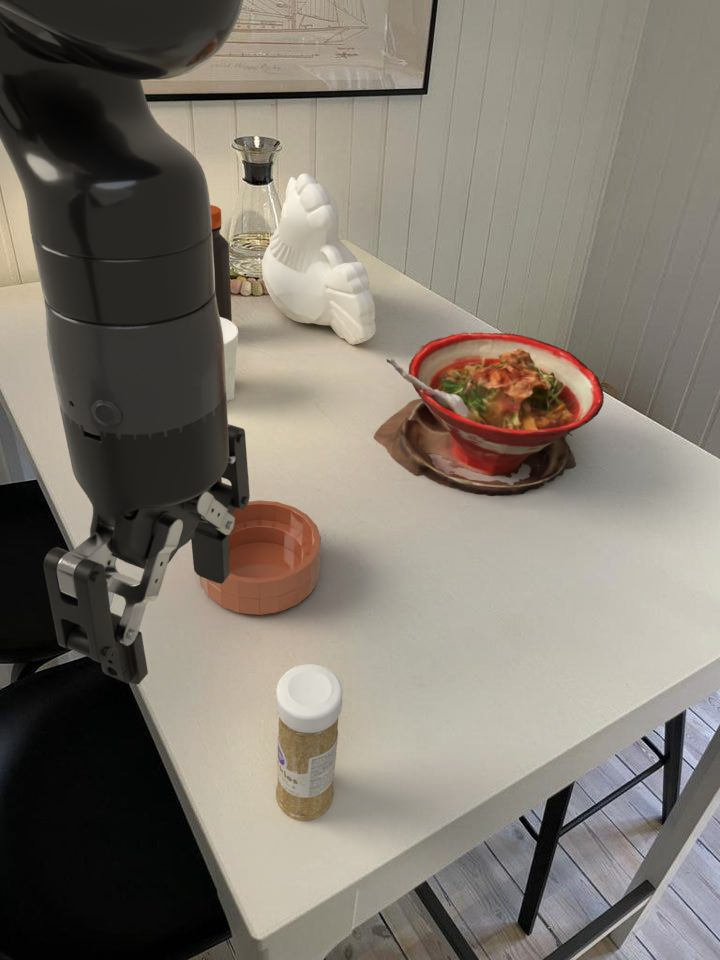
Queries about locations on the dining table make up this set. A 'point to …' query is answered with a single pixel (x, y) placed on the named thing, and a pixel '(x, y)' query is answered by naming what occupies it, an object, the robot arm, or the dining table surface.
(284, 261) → the decorative rooster
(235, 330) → the cup
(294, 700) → the sprinkles bottle
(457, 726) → the dining table surface
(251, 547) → the bowl
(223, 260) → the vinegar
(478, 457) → the stew
